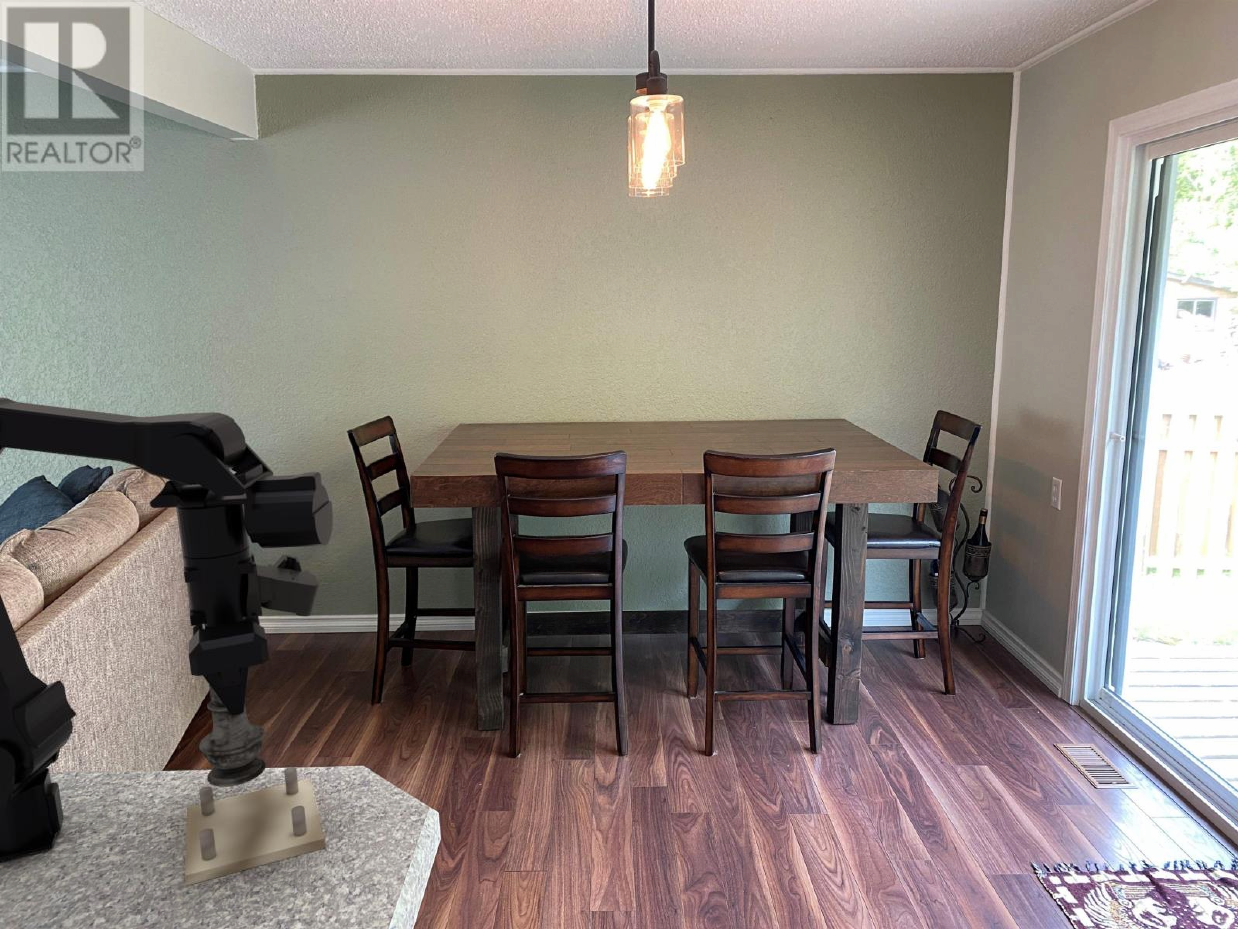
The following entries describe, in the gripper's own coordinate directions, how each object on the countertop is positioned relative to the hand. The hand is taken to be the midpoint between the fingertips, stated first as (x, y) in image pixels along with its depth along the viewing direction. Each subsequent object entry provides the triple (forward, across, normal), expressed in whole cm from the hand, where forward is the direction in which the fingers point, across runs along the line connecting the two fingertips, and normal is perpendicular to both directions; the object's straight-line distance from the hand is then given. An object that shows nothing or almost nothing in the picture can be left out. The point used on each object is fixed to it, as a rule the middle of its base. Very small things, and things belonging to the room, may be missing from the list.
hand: (236, 705), depth 85 cm
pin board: (+13, 0, 0) cm, 13 cm away
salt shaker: (+7, 0, +1) cm, 7 cm away
